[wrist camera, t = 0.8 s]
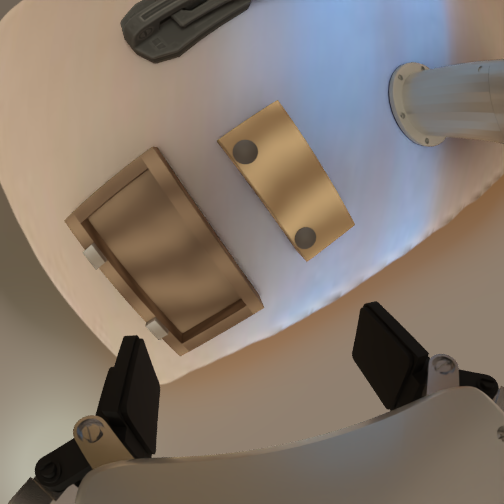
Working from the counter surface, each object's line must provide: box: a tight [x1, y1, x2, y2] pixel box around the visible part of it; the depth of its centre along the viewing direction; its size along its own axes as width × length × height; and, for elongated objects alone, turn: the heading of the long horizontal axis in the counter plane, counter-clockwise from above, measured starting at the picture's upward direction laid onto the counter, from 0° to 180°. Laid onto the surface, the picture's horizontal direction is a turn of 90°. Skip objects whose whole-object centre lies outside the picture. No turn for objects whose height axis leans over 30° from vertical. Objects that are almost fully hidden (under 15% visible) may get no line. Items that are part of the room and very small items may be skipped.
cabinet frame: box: [65, 147, 264, 356], centre depth 30 cm, size 22×12×4 cm, turn 31°
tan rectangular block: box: [217, 100, 355, 261], centre depth 29 cm, size 16×7×4 cm, turn 36°
